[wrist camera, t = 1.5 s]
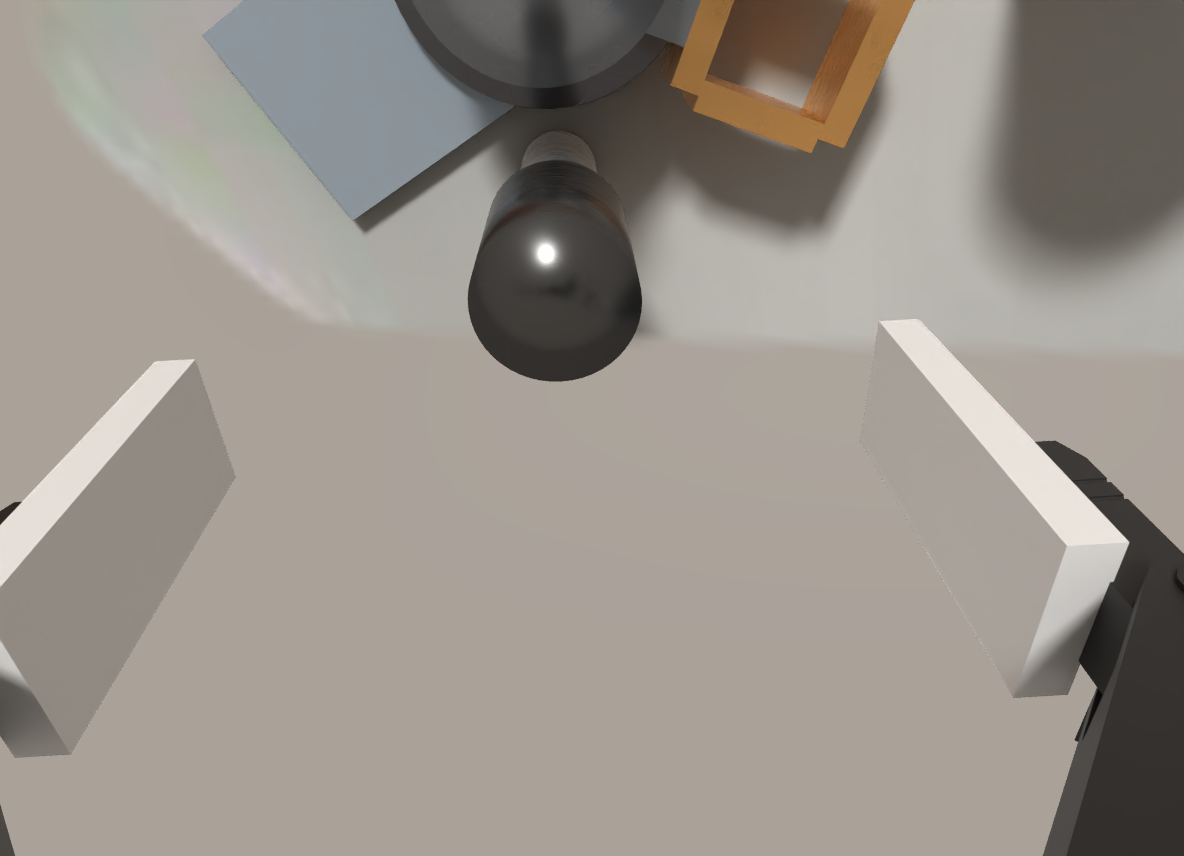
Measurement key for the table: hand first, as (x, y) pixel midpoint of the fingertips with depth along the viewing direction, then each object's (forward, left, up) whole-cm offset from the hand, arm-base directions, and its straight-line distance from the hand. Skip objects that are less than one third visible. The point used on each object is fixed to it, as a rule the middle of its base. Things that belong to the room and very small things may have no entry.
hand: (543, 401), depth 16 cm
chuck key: (0, 0, -19) cm, 19 cm away
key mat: (+7, +4, -19) cm, 21 cm away
